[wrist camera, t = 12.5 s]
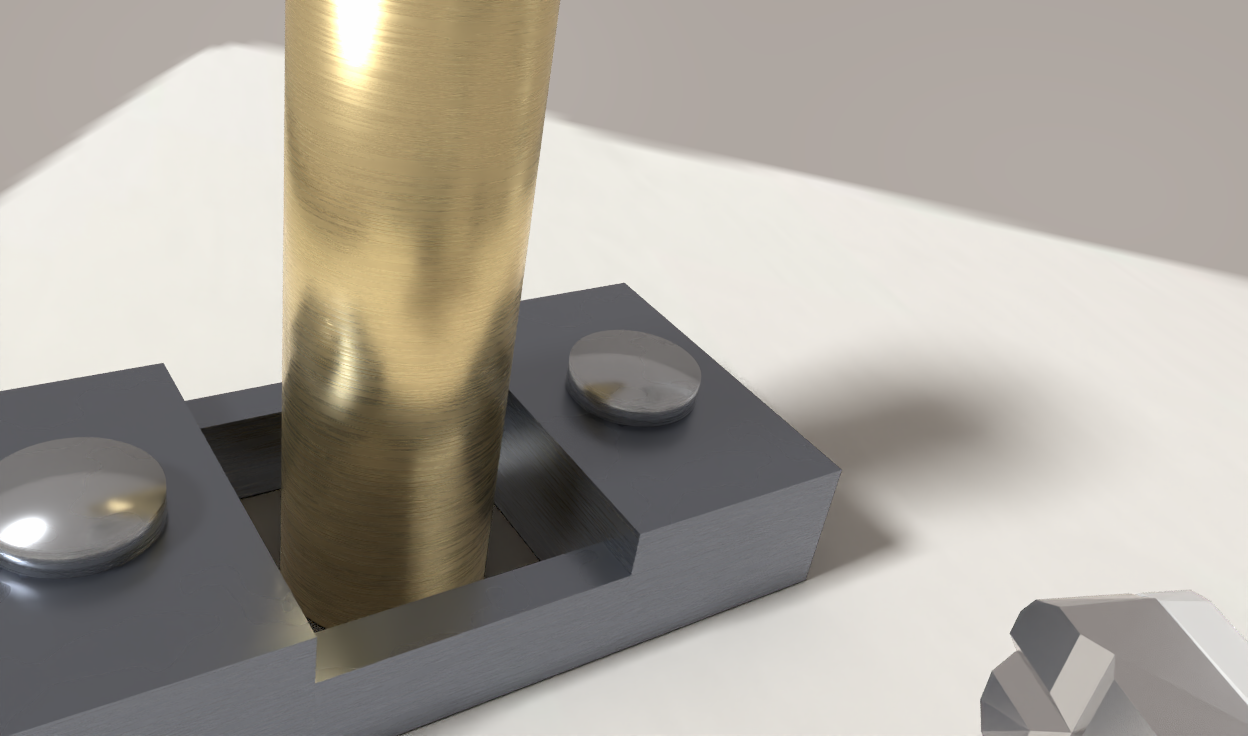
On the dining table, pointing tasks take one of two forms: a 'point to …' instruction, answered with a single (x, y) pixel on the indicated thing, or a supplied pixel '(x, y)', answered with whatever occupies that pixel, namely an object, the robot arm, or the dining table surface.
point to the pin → (401, 286)
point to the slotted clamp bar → (414, 632)
